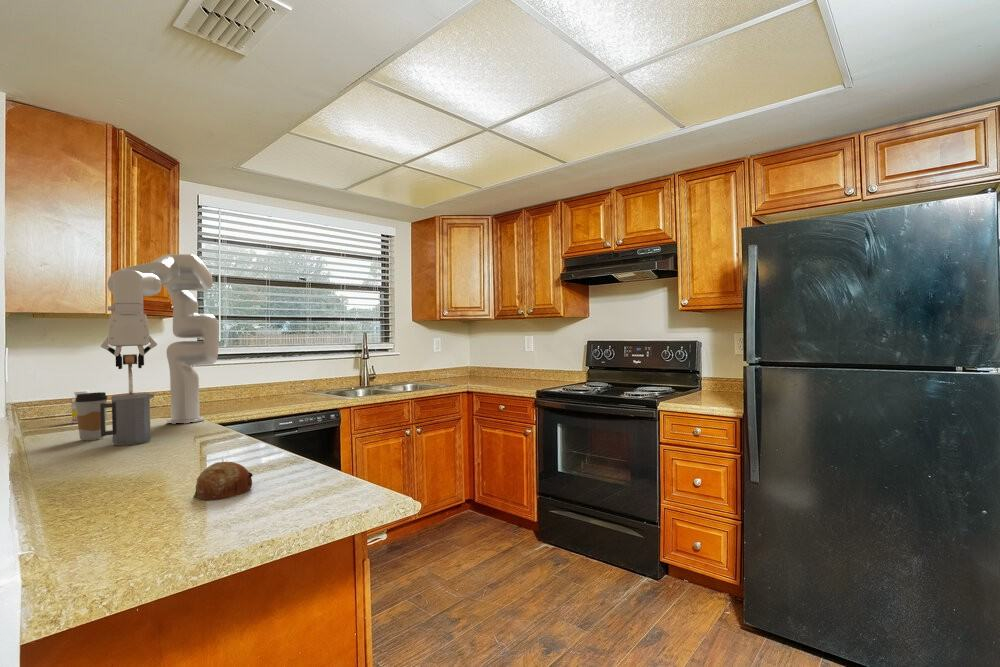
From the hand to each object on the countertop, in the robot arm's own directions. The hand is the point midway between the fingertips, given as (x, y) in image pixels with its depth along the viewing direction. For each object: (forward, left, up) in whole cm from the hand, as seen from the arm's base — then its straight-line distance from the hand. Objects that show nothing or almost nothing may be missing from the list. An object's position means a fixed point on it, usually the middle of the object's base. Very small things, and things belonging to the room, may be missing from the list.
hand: (130, 367), depth 158 cm
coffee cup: (-18, -12, -24) cm, 32 cm away
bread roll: (+80, +21, -24) cm, 86 cm away
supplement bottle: (-72, -22, -24) cm, 79 cm away
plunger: (0, 0, -15) cm, 15 cm away
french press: (0, 0, -23) cm, 23 cm away
